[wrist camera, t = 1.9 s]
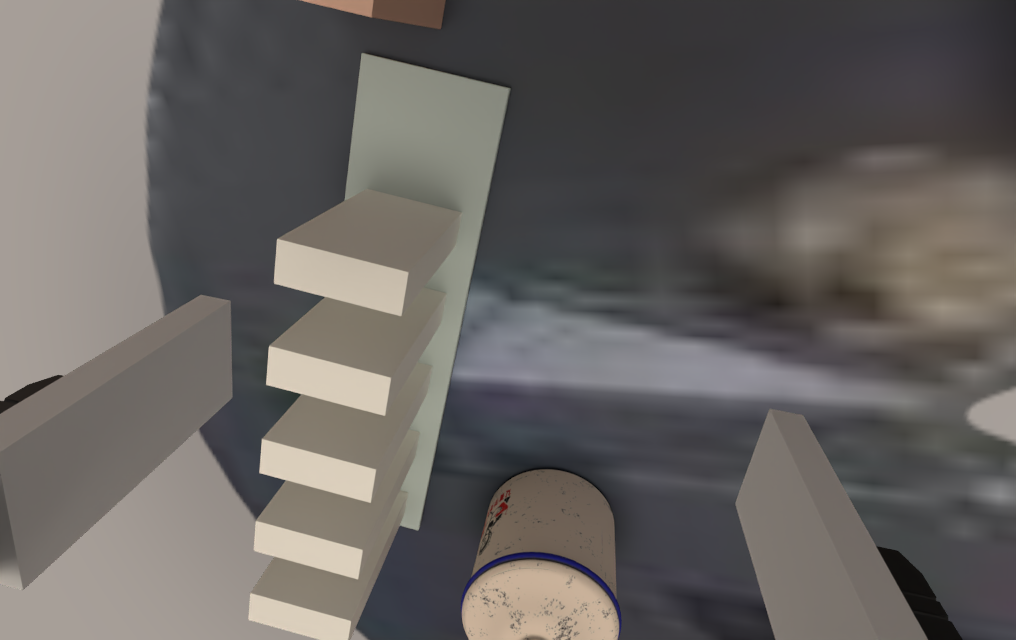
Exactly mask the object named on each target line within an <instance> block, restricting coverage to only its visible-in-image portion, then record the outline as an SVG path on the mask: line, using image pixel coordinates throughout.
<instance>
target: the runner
mask: <svg viewBox="0 0 1016 640" xmlns="http://www.w3.org/2000/svg"><path fill="white" fill-rule="evenodd" d="M510 90H511V88H508V87H504V86H500V85H495V84H491V83H487V82H483V81H479V80H475V79H471V78H466V77H462V76H458V75H454V74H450V73H446V72H442V71H437V70H433V69H429V68H425V67H421V66H417V65H413V64H408V63H404V62H400V61H396V60H392V59H388V58H384V57H379V56H375V55H371V54H367V53H362V55H361V64H360V72H359V81H358V90H357V98H356V107H355V115H354V124H353V133H352V141H351V150H350V158H349V167H348V176H347V184H346V193H345V201H346V200H347V199H349V198H351V197H353V196H355V195H356V194H358V193H360V192H362V191H364V190H365V189H370V190H374V191H378V192H382V193H386V194H390V195H394V196H398V197H402V198H406V199H410V200H414V201H418V202H422V203H426V204H430V205H434V206H438V207H442V208H446V209H450V210H454V211H458V212H462V216H461V222H460V227H459V232H458V237H457V242H456V246H455V248H454V249H453V250H452V251H451V253H450V254H449V255H448V257H447V258H446V259H445V261H444V262H443V263H442V264H441V266H440V267H439V268H438V270H437V271H436V272H435V273H434V275H433V276H432V277H431V279H430V280H429V281H428V283H427V284H426V285H425V286H424V288H428V289H432V290H436V291H440V292H444V293H447V294H446V300H445V305H444V310H443V315H442V320H441V324H440V326H439V327H438V329H437V331H436V332H435V334H434V336H433V337H432V339H431V341H430V342H429V344H428V346H427V347H426V349H425V351H424V352H423V354H422V356H421V357H420V359H419V360H418V362H419V363H422V364H426V365H430V366H433V367H432V372H431V378H430V383H429V388H428V393H427V395H426V397H425V399H424V401H423V403H422V405H421V407H420V409H419V411H418V413H417V415H416V416H415V418H414V420H413V422H412V424H411V426H410V428H409V429H410V430H413V431H417V432H420V435H419V440H418V445H417V450H416V456H415V459H414V461H413V463H412V465H411V467H410V469H409V471H408V474H407V476H406V478H405V480H404V482H403V484H402V486H401V489H400V490H401V491H405V492H408V497H407V502H406V508H405V513H404V516H403V519H402V521H401V523H400V526H404V527H408V528H411V529H415V530H419V528H420V525H421V520H422V515H423V511H424V506H425V501H426V496H427V491H428V486H429V482H430V477H431V472H432V467H433V462H434V457H435V453H436V448H437V443H438V438H439V433H440V428H441V424H442V419H443V414H444V409H445V404H446V400H447V395H448V390H449V385H450V380H451V375H452V371H453V366H454V361H455V356H456V351H457V346H458V342H459V337H460V332H461V327H462V322H463V317H464V313H465V308H466V303H467V298H468V293H469V288H470V284H471V279H472V274H473V269H474V264H475V259H476V255H477V250H478V245H479V240H480V235H481V230H482V226H483V221H484V216H485V211H486V206H487V201H488V197H489V192H490V187H491V182H492V177H493V172H494V168H495V163H496V158H497V153H498V148H499V143H500V139H501V134H502V129H503V124H504V119H505V114H506V110H507V105H508V100H509V95H510Z"/></svg>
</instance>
